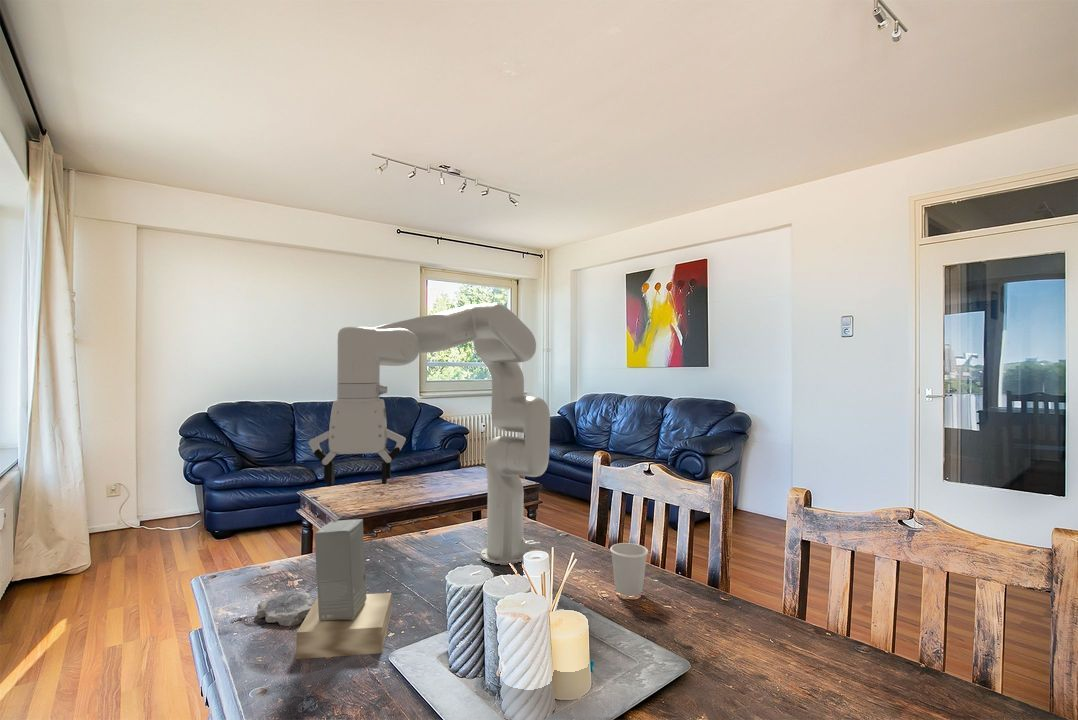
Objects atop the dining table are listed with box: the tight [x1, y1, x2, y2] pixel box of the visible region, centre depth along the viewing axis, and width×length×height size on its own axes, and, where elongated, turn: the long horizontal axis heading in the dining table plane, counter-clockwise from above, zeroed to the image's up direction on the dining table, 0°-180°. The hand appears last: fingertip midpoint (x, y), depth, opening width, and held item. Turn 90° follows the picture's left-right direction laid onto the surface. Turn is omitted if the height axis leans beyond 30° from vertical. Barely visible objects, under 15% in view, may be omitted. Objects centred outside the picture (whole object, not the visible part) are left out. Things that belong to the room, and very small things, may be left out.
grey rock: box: [256, 591, 315, 627], centre depth 104 cm, size 11×4×10 cm
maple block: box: [295, 592, 393, 660], centre depth 96 cm, size 14×14×5 cm
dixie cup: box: [609, 542, 649, 596], centre depth 115 cm, size 8×8×10 cm
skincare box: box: [314, 518, 367, 620], centre depth 96 cm, size 8×7×16 cm
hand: (358, 483), depth 98 cm, fingers open, 9 cm apart
